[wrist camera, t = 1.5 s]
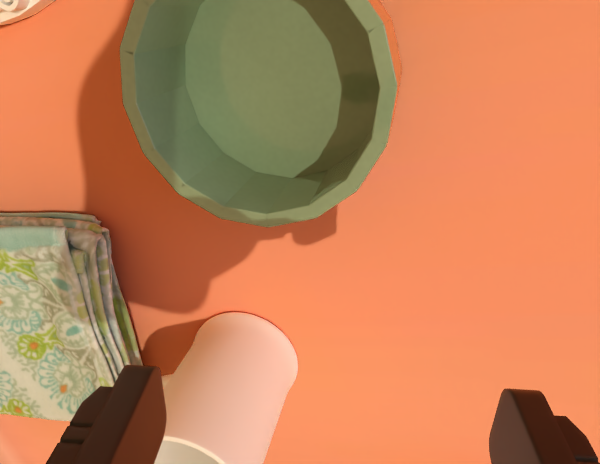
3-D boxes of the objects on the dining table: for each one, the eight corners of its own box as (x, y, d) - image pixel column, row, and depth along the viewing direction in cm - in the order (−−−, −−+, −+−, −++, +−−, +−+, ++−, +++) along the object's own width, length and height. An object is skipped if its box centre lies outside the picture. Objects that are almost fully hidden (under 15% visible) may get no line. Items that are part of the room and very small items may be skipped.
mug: (163, 383, 43) (77, 510, 32) (152, 298, 39) (51, 410, 28) (297, 406, 40) (253, 552, 30) (299, 319, 37) (249, 449, 26)
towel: (165, 399, 43) (136, 446, 39) (-34, 380, 48) (-81, 419, 44) (116, 205, 36) (73, 235, 32) (-113, 205, 41) (-179, 231, 36)
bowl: (143, -8, 29) (75, -9, 24) (368, -95, 25) (352, -122, 19) (221, 203, 34) (180, 244, 28) (421, 159, 30) (421, 198, 24)
